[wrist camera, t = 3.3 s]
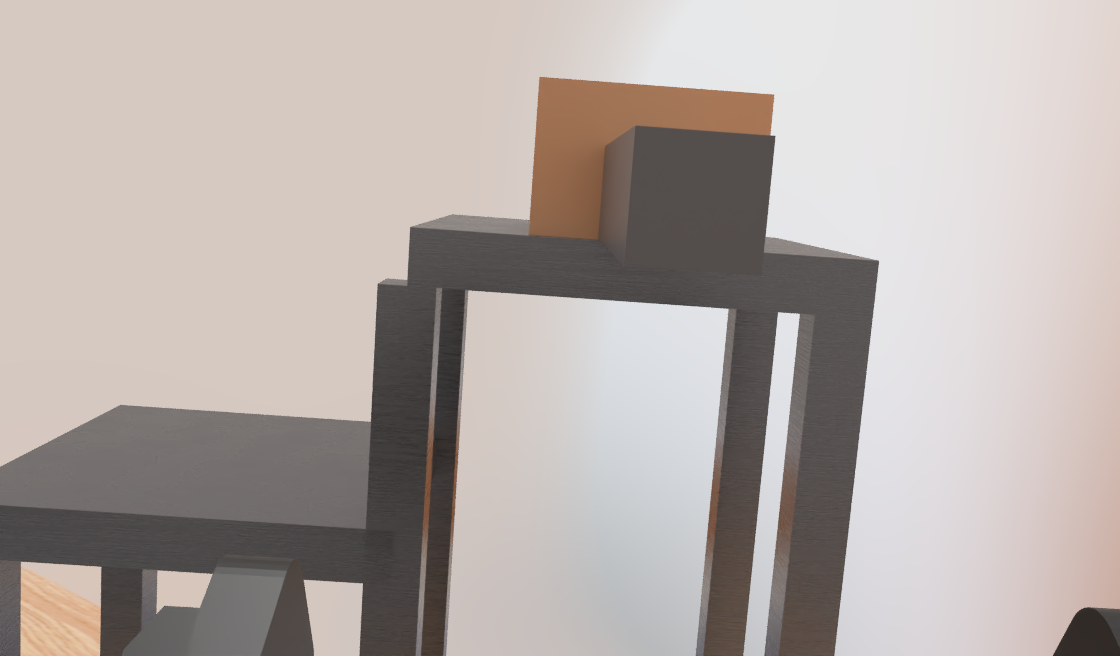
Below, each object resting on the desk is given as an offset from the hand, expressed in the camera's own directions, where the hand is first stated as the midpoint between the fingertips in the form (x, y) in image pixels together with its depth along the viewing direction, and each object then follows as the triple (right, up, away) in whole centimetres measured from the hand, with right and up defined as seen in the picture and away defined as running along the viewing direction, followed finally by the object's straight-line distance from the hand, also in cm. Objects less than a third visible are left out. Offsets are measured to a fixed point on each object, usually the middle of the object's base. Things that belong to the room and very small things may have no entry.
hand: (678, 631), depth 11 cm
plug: (+1, +5, +16) cm, 16 cm away
